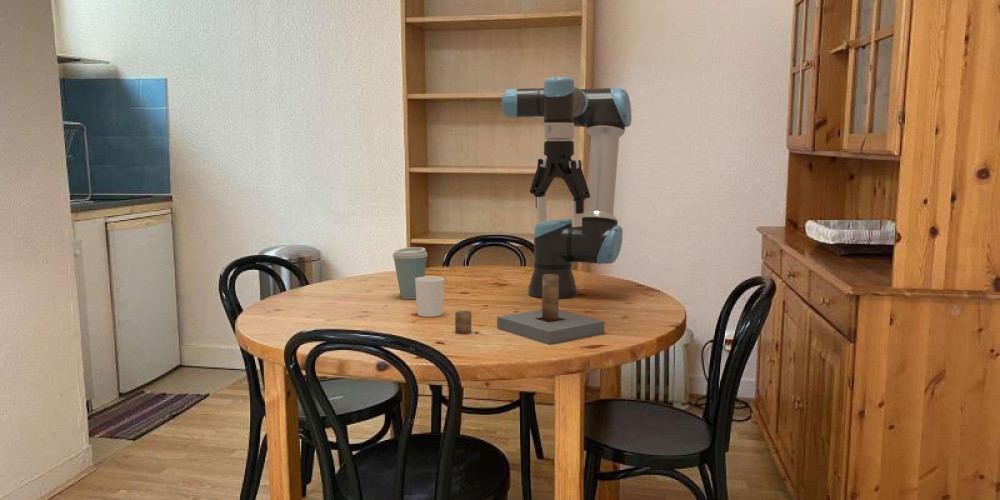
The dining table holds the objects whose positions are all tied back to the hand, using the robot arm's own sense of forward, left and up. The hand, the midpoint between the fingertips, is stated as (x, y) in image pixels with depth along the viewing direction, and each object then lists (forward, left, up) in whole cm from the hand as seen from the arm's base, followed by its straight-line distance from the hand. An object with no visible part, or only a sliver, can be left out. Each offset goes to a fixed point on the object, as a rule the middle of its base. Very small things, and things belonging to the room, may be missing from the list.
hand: (558, 224), depth 196 cm
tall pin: (+5, -7, -26) cm, 27 cm away
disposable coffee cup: (-53, -13, -26) cm, 61 cm away
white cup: (-29, -21, -26) cm, 44 cm away
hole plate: (+5, -7, -26) cm, 27 cm away
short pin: (-7, -25, -26) cm, 37 cm away
